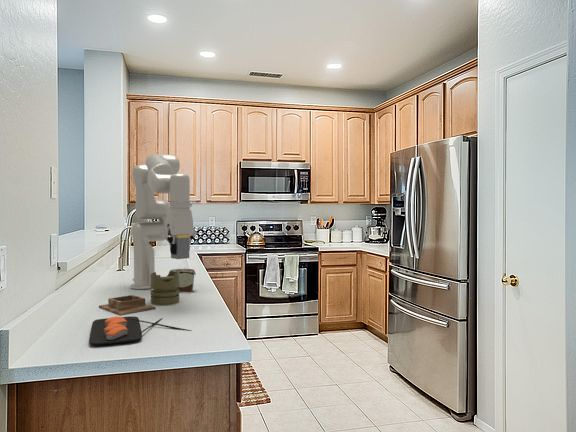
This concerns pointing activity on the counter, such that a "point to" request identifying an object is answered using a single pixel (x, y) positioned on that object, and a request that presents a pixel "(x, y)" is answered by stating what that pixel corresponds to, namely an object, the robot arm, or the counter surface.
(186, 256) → the gold and gray block
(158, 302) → the piston
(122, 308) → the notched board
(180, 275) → the food container
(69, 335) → the counter surface
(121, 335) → the sushi plate
